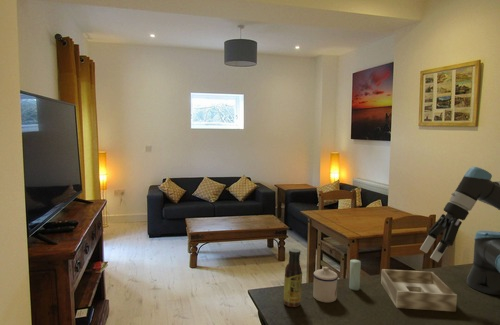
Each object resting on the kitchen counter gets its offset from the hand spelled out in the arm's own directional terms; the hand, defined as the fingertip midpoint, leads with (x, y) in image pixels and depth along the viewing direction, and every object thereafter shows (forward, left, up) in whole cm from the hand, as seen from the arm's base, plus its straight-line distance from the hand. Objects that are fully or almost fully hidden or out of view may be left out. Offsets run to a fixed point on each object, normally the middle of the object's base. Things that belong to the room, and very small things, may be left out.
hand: (428, 255), depth 127 cm
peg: (+25, -6, -17) cm, 31 cm away
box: (+3, -2, -17) cm, 17 cm away
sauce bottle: (+50, +10, -17) cm, 54 cm away
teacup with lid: (+38, +2, -17) cm, 42 cm away
